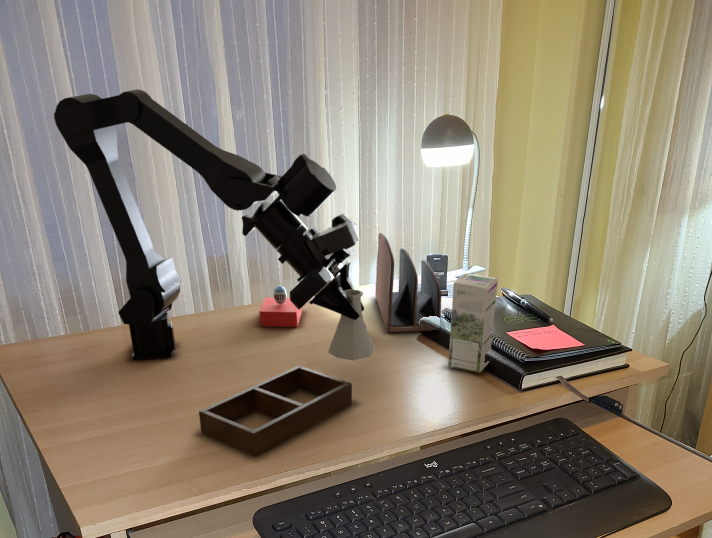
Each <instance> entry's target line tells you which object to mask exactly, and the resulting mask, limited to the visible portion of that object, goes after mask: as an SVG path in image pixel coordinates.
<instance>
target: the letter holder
mask: <svg viewBox="0 0 712 538" xmlns="http://www.w3.org/2000/svg"><path fill="white" fill-rule="evenodd" d="M377 238H378V240H377V253H376V256H377V257H376V270H375V271H376V272H375V274H376V275H375V292H374V293H375V295H374V296H375V299H376V302H377V305H378V308H379V311H380V314H381V317H382V320H383V323H384V325H385V328H386V332H387V333H388V334H391V333H419V332H420V333H421V332H433V331H432V330H430V329H427V328H425V327H420V326H419V321H420V319H421V318H423V317H429V316H437V317H439V318H442V290H441V289H442V288H441V285H440V282H439V280H438V278H437V276H436V273H435V272H434V270H433V268H432V267H431V265H430V263H429V262H428V261H427V260H426V259H421V261H420V265H421V266H420V290H419V291H418V287H419V286H418V285H419V277H418V273H417V270H416V267H415V264H414V262H413V260H412V257H411V255H410V253H409V252H408V250H407V249H406V248H405V247H401V248H399V261H398V265H399V266H398V291H394V278H395V258H394V254H393V250H392V248H391V245H390V242H389V240H388V238H387V237H386V235H385V234H384V233H383V232H379V233H378V237H377Z"/></svg>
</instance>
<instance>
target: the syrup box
mask: <svg viewBox="0 0 712 538" xmlns="http://www.w3.org/2000/svg"><path fill="white" fill-rule="evenodd" d="M498 283H499V278H497V277H492V276H485V275H479V274H473V273H463V274H461V275H460V276H459V277H458V278H457V279H455V281H454V282H453V288H452V301H451V303H452V304H451V320H450V333H449V334H450V335H449V350H448V364H447V365H448V366H447V367H448V368H451V369H457V370H462V371H466V372H472V373H477V374H481V372H482V371H484V369H485V368H486V367H487V365H489V363H490V361H487V362H486V363H485V362H484V361H485V355H486V353H487V352H488V351H489V350H490V349H491V350H492V341H493V330H494V320H495V311H496V302H497V293H498Z"/></svg>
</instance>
